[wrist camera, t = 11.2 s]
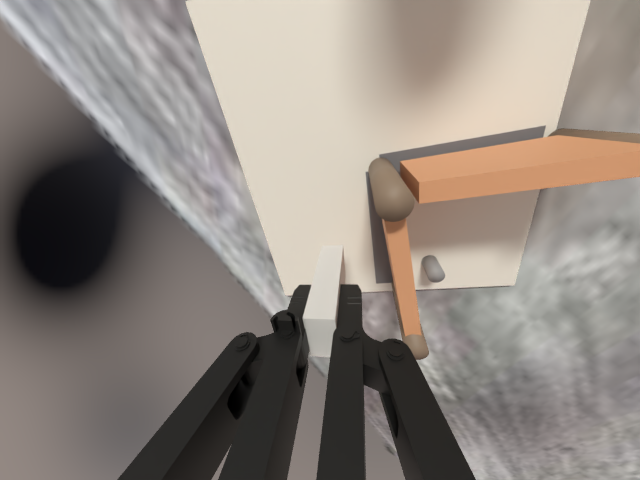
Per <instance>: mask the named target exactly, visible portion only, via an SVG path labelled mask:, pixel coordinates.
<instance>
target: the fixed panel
mask: <svg viewBox="0 0 640 480" xmlns="http://www.w3.org/2000/svg"><path fill="white" fill-rule="evenodd" d="M368 172H369V178H370V183H371V188H372V193H373V199H374V204H375V209H376V212H377V214H378V215H379V216H380V217H381V218H382V219H383V220H385V221H389V222H397V221H401V220H403V219H405V218H406V217H407V216H409V215H410V213H411V212H412V210H413V208H414V204H415V200H414V197H415V199H416V200H417V202H418V203H419V204H422V203H430V202H438V201H446V200H455V199H463V198H471V197H479V196H487V195H495V194H503V193H511V192H519V191H527V190H535V189H543V188H551V187H560V186H568V185H576V184H584V183H592V182H600V181H608V180H616V179H624V178H632V177H640V134H636V133H621V132H607V131H592V130H578V129H558V130H556V131H554V132H552V133H551V134H550V135H548V137H543V138H537V139H531V140H525V141H519V142H513V143H507V144H501V145H495V146H489V147H483V148H477V149H471V150H465V151H459V152H453V153H447V154H440V155H434V156H428V157H422V158H416V159H410V160H404V161H400V175H399V174H398V172H397V171H396V169H395V168H394V167H393V165H392V164H391V162H390V161H389V160H388V159H386V158H376V159H374V160H373V161H372V162H371V163H370V165H369V168H368Z"/></svg>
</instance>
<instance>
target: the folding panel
mask: <svg viewBox="0 0 640 480" xmlns="http://www.w3.org/2000/svg"><path fill="white" fill-rule="evenodd" d="M382 223H383V228H384V233H385V239H386V244H387V250H388V255H389V260H390V266H391V271H392V277H393V281H392V283H391V285H392V290H393V295H394V300H395V305H396V310H397V315H398V320H399V325H400V330H401V335H402V340H403V342H404V343H405V344H407V345H408V347H409V348H410V349H411V351H412V353H413V355H414V357H415V359H416V360H420V359H424V358H426V357H427V356H428V354H429V351H428V347H427V344H426V341H425V337H424V334H423V331H422V327H421V324H420V321H419V313H418V306H417V298H416V290H415V283H414V275H413V268H412V260H411V253H410V245H409V238H408V230H407V223H406V218H405V219H403V220H401V221H397V222H389V221H385V220H383V219H382Z"/></svg>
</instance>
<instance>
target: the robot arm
mask: <svg viewBox="0 0 640 480" xmlns="http://www.w3.org/2000/svg"><path fill="white" fill-rule="evenodd" d="M345 277H346V276H345V262H344V249H343V245H329V246H322V248H321V251H320V255H319V259H318V263H317V266H316V270H315V274H314V277H313V281H312V285H299V286H298V287H297V288H296V289H295V290H294V293H293V295H292V298H291V301H290V304H289V307H288V309H287V310H282V311H280V312H278V313H276V314H275V315H274V316H273V317H272V318H271V320H270V321H271V323H272V327H273V330H274V333H272V334H269V335H266V336H262V337H258V338H256V336H255V335H254V334H253V333H249V332H246V333H242V334H240V335H238V336H236V337H235V338H234V339H233V340H232V341H231V342H230V343H229V344H228V346H227V347H226V348H225V349H224V351H223V352H222V353H221V354H220V356H219V357H218V358H217V359H216V360H215V362H214V363H213V364H212V365H211V366H210V368H209V369H208V370H207V371H206V372H205V374H204V375H203V376H202V378H201V379H200V380H199V381H198V382H197V383H196V385H195V386H194V387H193V388H192V390H191V391H190V392H189V393H188V394H187V396H186V397H185V398H184V399H183V400H182V402H181V403H180V404H179V405H178V407H177V408H176V409H175V410H174V411H173V413H172V414H171V415H170V417H169V418H168V419H167V420H166V421H165V422H164V424H163V425H162V426H161V427H160V429H159V430H158V431H157V432H156V433H155V435H154V436H153V437H152V438H151V440H150V441H149V442H148V443H147V444H146V446H145V447H144V448H143V449H142V450H141V452H140V453H139V454H138V455H137V457H136V458H135V459H134V460H133V462H132V463H131V464H130V465H129V466H128V467H127V469H126V470H125V471H124V473H123V474H122V475H121V476H120V477H119V479H118V480H211V479H212V477H213V476H214V474H215V472H216V470H217V468H218V467H219V465H220V463H221V461H222V460H223V458H224V456H225V455H226V453H227V451H228V449H229V447H230V446H231V447H230V450H229V453H228V455H227V458H226V461H225V463H224V466H223V468H222V471H221V474H220V476H219V479H218V480H287V476H288V471H289V466H290V461H291V455H292V450H293V445H294V440H295V434H296V429H297V424H298V419H299V414H300V408H301V403H302V398H303V393H304V387H305V382H306V377H307V372H308V359H307V358H308V353H309V352H310V356H315V357H330V365H329V374H328V382H327V391H326V401H325V409H324V417H323V426H322V435H321V444H320V452H319V453H320V454H319V461H318V471H317V479H316V480H366V469H365V467H366V466H365V418H364V385H366V386H368V387H370V388H373V389H375V390H377V391H379V394H380V397H381V400H382V404H383V407H384V410H385V414H386V417H387V420H388V423H389V427H390V430H391V433H392V437H393V440H394V443H395V446H396V450H397V453H398V456H399V460H400V463H401V466H402V470H403V473H404V476H405V479H406V480H476V479H475V477H474V475H473V473H472V471H471V469H470V467H469V465H468V463H467V461H466V459H465V457H464V455H463V453H462V451H461V449H460V447H459V445H458V443H457V441H456V439H455V437H454V435H453V433H452V431H451V429H450V427H449V425H448V423H447V421H446V419H445V417H444V415H443V413H442V411H441V409H440V407H439V405H438V403H437V401H436V399H435V397H434V395H433V393H432V391H431V389H430V387H429V385H428V383H427V381H426V379H425V377H424V375H423V373H422V371H421V369H420V367H419V365H418V363H417V361H416V359H415V357H414V355H413V353H412V351H411V349H410V348H409V347H408V345H407V344H405V343H404V342H402V341H401V340H398V339H387V340H384V341H383V342H380V341H377V340H374V339H372V338H370V337H369V336H368V335H367V334H366V333H365V332H364V330H363V327H362V295H361V289H360V287H359V286H358V284H345ZM231 444H232V445H231Z"/></svg>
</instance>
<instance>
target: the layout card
mask: <svg viewBox="0 0 640 480" xmlns="http://www.w3.org/2000/svg"><path fill="white" fill-rule="evenodd" d="M589 4H590V0H189V1H186V5H187V8H188V11H189V14H190V17H191V20H192V23H193V26H194V29H195V32H196V35H197V37H198V40H199V43H200V46H201V49H202V52H203V55H204V58H205V61H206V64H207V67H208V70H209V73H210V76H211V78H212V81H213V84H214V87H215V90H216V93H217V96H218V99H219V102H220V105H221V108H222V111H223V114H224V117H225V119H226V122H227V125H228V128H229V131H230V134H231V137H232V140H233V143H234V146H235V149H236V152H237V155H238V157H239V160H240V163H241V166H242V169H243V172H244V175H245V178H246V181H247V184H248V187H249V190H250V193H251V196H252V198H253V201H254V204H255V207H256V210H257V213H258V216H259V219H260V222H261V225H262V228H263V231H264V234H265V237H266V239H267V242H268V245H269V248H270V251H271V254H272V257H273V260H274V263H275V266H276V269H277V272H278V275H279V278H280V280H281V283H282V286H283V289H284V292H285V295H286V296H292V295H293V293H294V290H295V289H296V288H297V287H298V286H299V285H312V281H313V277H314V274H315V270H316V266H317V263H318V259H319V255H320V251H321V248H322V246H329V245H343V249H344V262H345V276H346V277H345V284H358V286H359V287H360V289H361V292H380V291H393V290H392V285H391V283H392V281H393V277H392V271H391V266H390V260H389V255H388V250H387V244H386V239H385V233H384V228H383V223H382V218H381V217H380V216H379V215H378V214H377V212H376V209H375V204H374V199H373V193H372V188H371V183H370V178H369V172H368V168H369V165H370V163H371V162H372V161H373V160H374V159H376V158H386V159H388V160H389V161H390V162H391V164H392V165H393V167H394V168H395V169H396V171H397V172H398V174H399V175H400V161H404V160H410V159H416V158H422V157H428V156H434V155H440V154H447V153H453V152H459V151H465V150H471V149H477V148H483V147H489V146H495V145H501V144H507V143H513V142H519V141H525V140H531V139H537V138H543V137H548V135H550V134H551V133H552V132H554V131H556V128H557V124H558V120H559V116H560V113H561V109H562V105H563V101H564V98H565V94H566V90H567V86H568V83H569V79H570V75H571V71H572V68H573V64H574V60H575V56H576V53H577V49H578V45H579V41H580V38H581V34H582V30H583V26H584V23H585V19H586V15H587V11H588V8H589ZM539 192H540V189H535V190H527V191H519V192H511V193H503V194H495V195H487V196H479V197H471V198H463V199H455V200H446V201H438V202H430V203H422V204H419V203H418V202H417V200H416V199H415V197H414V200H415V204H414V208H413V210H412V212H411V213H410V215H409V216H407V217H406V223H407V230H408V238H409V245H410V253H411V260H412V268H413V275H414V283H415V290H423V289H445V288H467V287H488V286H510V285H515V282H516V278H517V274H518V271H519V267H520V263H521V259H522V255H523V252H524V248H525V244H526V240H527V237H528V233H529V229H530V225H531V222H532V218H533V214H534V210H535V207H536V203H537V199H538V195H539Z"/></svg>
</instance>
